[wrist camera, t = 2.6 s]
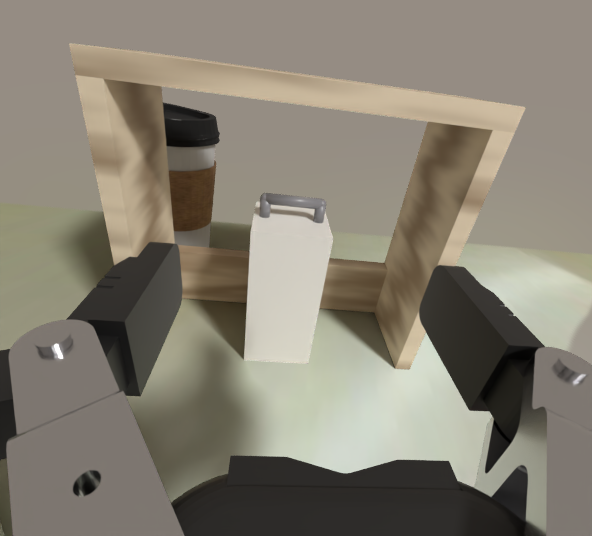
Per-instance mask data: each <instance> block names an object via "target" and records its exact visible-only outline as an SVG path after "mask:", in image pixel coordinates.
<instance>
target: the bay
mask: <svg viewBox="0 0 592 536" xmlns="http://www.w3.org/2000/svg"><path fill="white" fill-rule="evenodd" d="M69 45H70V50H71V55H72V60H73V65H74V70H75V75H76V79H77V84H78V89H79V94H80V99H81V104H82V109H83V114H84V119H85V124H86V129H87V134H88V139H89V143H90V148H91V153H92V158H93V163H94V168H95V173H96V178H97V183H98V187H99V192H100V197H101V202H102V207H103V212H104V217H105V222H106V227H107V232H108V237H109V242H110V246H111V251H112V256H113V261H114V265H116V264H117V263H119V262H121V261H123V260H125V259H126V258H128V257H138V255H139V254H140V253H141V252H142V250H143V249H144V248H145V247H146V245H147V244H148V243H149V242H161V243H174V244H175V240H174V229H173V217H172V205H171V194H170V182H169V170H168V159H167V147H166V135H165V123H164V112H163V101H162V89H161V86H163V87H171V88H178V89H186V90H194V91H200V92H209V93H216V94H223V95H231V96H238V97H246V98H254V99H262V100H270V101H277V102H284V103H292V104H299V105H307V106H315V107H322V108H330V109H338V110H345V111H353V112H360V113H367V114H375V115H384V116H391V117H398V118H405V119H413V120H421V121H428V123H427V127H426V130H425V133H424V136H423V139H422V143H421V146H420V150H419V152H418V156H417V159H416V162H415V165H414V169H413V172H412V175H411V178H410V182H409V185H408V188H407V192H406V195H405V198H404V201H403V205H402V208H401V211H400V214H399V217H398V221H397V224H396V227H395V230H394V234H393V237H392V240H391V243H390V247H389V250H388V253H387V256H386V260H385V263H378V262H366V261H355V260H344V259H332V258H329V262H328V267H327V272H326V277H325V282H324V287H323V292H322V297H321V302H320V307H319V308H321V309H335V310H348V311H362V312H374V313H375V315H376V318H377V321H378V323H379V326H380V329H381V332H382V334H383V337H384V340H385V342H386V345H387V348H388V350H389V353H390V356H391V358H392V361H393V364H394V367H395V368H396V369H410V367H411V365H412V363H413V360H414V358H415V356H416V354H417V351H418V349H419V347H420V345H421V342H422V340H423V338H424V336H425V333H426V331H425V329H424V327H423V326H422V324H421V321H420V317H419V308H420V304H421V301H422V298H423V296H424V293H425V291H426V288H427V285H428V283H429V280H430V277H431V275H432V272H433V270H434V269H435V267H436V266H438V265H446V266H456V264H457V261H458V259H459V257H460V255H461V252H462V250H463V248H464V246H465V243H466V241H467V239H468V237H469V234H470V232H471V230H472V228H473V225H474V223H475V221H476V219H477V216H478V214H479V212H480V210H481V207H482V205H483V203H484V201H485V198H486V196H487V194H488V192H489V189H490V187H491V185H492V182H493V180H494V178H495V176H496V173H497V171H498V169H499V167H500V165H501V162H502V160H503V158H504V156H505V153H506V151H507V149H508V146H509V144H510V142H511V140H512V137H513V135H514V133H515V131H516V129H517V126H518V124H519V122H520V120H521V117H522V115H523V113H524V111H525V108H526V107H521V106H514V105H509V104H503V103H497V102H491V101H484V100H478V99H473V98H467V97H461V96H455V95H448V94H441V93H434V92H427V91H420V90H412V89H405V88H398V87H391V86H384V85H377V84H370V83H362V82H355V81H348V80H342V79H334V78H327V77H320V76H313V75H305V74H299V73H292V72H285V71H277V70H270V69H262V68H255V67H249V66H242V65H235V64H228V63H221V62H214V61H206V60H199V59H192V58H184V57H178V56H171V55H164V54H156V53H149V52H142V51H133V50H125V49H116V48H107V47H97V46H88V45H79V44H69ZM178 247H179V253H180V264H181V276H182V288H183V292H182V298H185V299H199V300H212V301H226V302H240V303H247V293H248V274H249V255H250V251H242V250H231V249H219V248H208V247H197V246H185V245H178Z"/></svg>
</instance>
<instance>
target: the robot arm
mask: <svg viewBox="0 0 592 536" xmlns="http://www.w3.org/2000/svg"><path fill="white" fill-rule="evenodd" d="M182 292H183V288H182V276H181V264H180V253H179V247H178V245H177V244H174V243H161V242H149V243H148V244H147V245H146V247H145V248H144V249H143V250H142V252H141V253H140V254H139V255H138V257H128V258H126V259H125V260H123V261H121V262H119V263H117V264H116V265H114V266H113V267H112V268H111V269H110V271H109V272H108V273H107V274H106V275H105V278H103V279H102V280H101V281H100V282H99V283H98V284H97V287H96V288H94V289H93V290H92V291H91V292H90V293H89V294H88V296H87V297H86V298H85V299H84V300H83V301H82V302H81V304H80V305H79V306H78V307H77V308H76V309H75V310H74V312H73V313H72V314H71V315H70V316H69V317H68V318H67V319H66V320H60V321H55V322H51V323H47V324H44V325H41V326H39V327H37V328H35V329H33V330H31V331H29V332H27V333H26V334H24V335H23V336H22V337H20V338H19V339H18V340H17V341H16V342H15V343H14V344H13V346H12V347H11V349H7V350H1V351H0V460H1V459H5V458H7V467H8V480H9V492H10V505H11V518H12V531H13V536H592V365H591V364H590V363H588V362H587V361H585V360H583V359H582V358H580V357H578V356H576V355H574V354H572V353H570V352H567V351H564V350H561V349H558V348H553V347H545V346H544V345H543V344H542V343H541V342H540V341H539V340H538V339H537V338H536V337H535V336H534V335H533V334H532V333H531V332H530V331H529V329H528V328H527V327H526V326H525V325H524V324H523V323H522V322H521V321H520V320H519V319H518V318H517V317H516V316H513V313H512V312H511V311H510V310H509V309H508V308H507V307H505V306H504V305H505V304H504V303H503V302H502V301H501V300H500V299H499V298H498V297H497V296H496V295H495V294H494V293H493V292H491V291H490V290H488V289H486V288H485V287H483V286H482V285H481V284H480V283H479V282H478V281H477V280H476V279H475V278H474V277H473V276H472V275H471V274H470V273H469V272H468V271H467V269H465V268H464V267H459V266H446V265H438V266H436V267H435V269H434V270H433V272H432V275H431V277H430V280H429V283H428V285H427V288H426V291H425V293H424V296H423V298H422V301H421V304H420V308H419V317H420V321H421V324H422V326H423V327H424V329H425V331H426V333H427V335H428V336H429V338H430V340H431V342H432V344H433V345H434V347H435V349H436V351H437V353H438V355H439V356H440V358H441V360H442V362H443V364H444V365H445V367H446V369H447V371H448V373H449V374H450V376H451V378H452V380H453V382H454V384H455V385H456V387H457V389H458V391H459V393H460V394H461V396H462V398H463V400H464V402H465V403H466V405H467V407H468V409H469V410H470V411H490V413H491V415H492V418H491V419H490V421H489V422H488V424H487V427H486V432H485V437H484V442H483V447H482V453H481V458H480V463H479V468H478V473H477V478H476V482H475V485H474V487H471V486H469V485H466V484H464V483H462V482H459V481H457V479H456V477H455V474H454V472H453V470H452V467H451V465H450V463H449V461H426V460H395V461H391V462H388V463H384V464H381V465H377V466H374V467H370V468H367V469H363V470H360V471H356V472H353V473H348V474H345V473H339V472H335V471H332V470H329V469H325V468H322V467H319V466H315V465H312V464H309V463H305V462H302V461H298V460H295V459H292V458H288V457H267V456H231V457H230V465H229V472H228V474H226V475H222V476H218V477H215V478H213V479H210V480H208V481H205V482H203V483H201V484H199V485H197V486H196V487H194V488H192V489H190V490H188V491H187V492H185V493H184V494H183V495H181V496H180V497H178V498H177V499H175V500H174V501H173V502H172V503H170V500H169V498H168V495H167V493H166V491H165V488H164V486H163V483H162V481H161V479H160V476H159V474H158V472H157V469H156V467H155V464H154V462H153V460H152V457H151V455H150V453H149V450H148V448H147V445H146V443H145V441H144V438H143V436H142V433H141V431H140V429H139V426H138V424H137V422H136V419H135V417H134V414H133V412H132V410H131V407H130V405H129V403H128V400H127V398H126V396H141V394H142V392H143V389H144V387H145V385H146V383H147V380H148V378H149V376H150V374H151V371H152V369H153V367H154V364H155V362H156V360H157V358H158V355H159V353H160V351H161V349H162V346H163V344H164V342H165V340H166V337H167V335H168V333H169V331H170V328H171V326H172V324H173V321H174V319H175V317H176V315H177V312H178V310H179V308H180V305H181V301H182Z"/></svg>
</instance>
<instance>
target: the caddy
mask: <svg viewBox="0 0 592 536" xmlns="http://www.w3.org/2000/svg"><path fill="white" fill-rule="evenodd" d="M325 209H326V201H325V200H324V199H319V198H309V197H299V196H290V195H281V194H271V193H263V194H262V195H261V198H260V202H256V207H255V212H254V217H253V222H252V227H251V236H250V255H249V274H248V293H247V312H246V331H245V351H244V360H252V361H269V362H287V363H304V364H308V361H309V356H310V352H311V347H312V342H313V337H314V332H315V327H316V322H317V317H318V312H319V307H320V302H321V297H322V292H323V287H324V282H325V277H326V272H327V267H328V262H329V257H330V252H331V247H332V242H333V236H332V233H331V230H330V226H329V223H328V220H327V216H326V213H325Z"/></svg>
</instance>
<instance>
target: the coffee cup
mask: <svg viewBox="0 0 592 536" xmlns="http://www.w3.org/2000/svg"><path fill="white" fill-rule="evenodd" d="M163 112H164V123H165V135H166V147H167V159H168V170H169V182H170V194H171V205H172V217H173V229H174V240H175V244H177V245H185V246H197V247H208V248H209V243H210V226H211V217H212V206H213V194H214V183H215V171H216V162H215V160H214V159H215V144H217V143H218V142H219V134H220V133H219V132H218V128H217V121H216V117H215V116H214V115H212V114H209V113H205V112H202V111H197V110H193V109H189V108H185V107H181V106H177V105H172V104H167V103H163Z"/></svg>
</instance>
